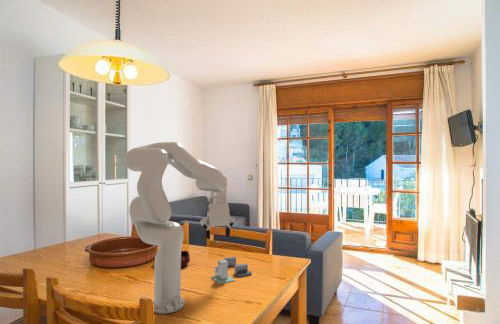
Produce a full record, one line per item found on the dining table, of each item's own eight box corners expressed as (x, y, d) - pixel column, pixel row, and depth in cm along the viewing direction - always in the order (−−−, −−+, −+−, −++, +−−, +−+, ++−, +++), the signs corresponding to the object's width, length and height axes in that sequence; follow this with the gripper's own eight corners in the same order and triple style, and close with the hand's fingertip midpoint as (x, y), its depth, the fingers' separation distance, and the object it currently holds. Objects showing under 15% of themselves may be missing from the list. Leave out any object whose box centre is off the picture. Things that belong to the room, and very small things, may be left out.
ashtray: (199, 262, 164) (199, 253, 164) (178, 271, 150) (178, 261, 150) (175, 256, 173) (175, 248, 173) (153, 265, 159) (153, 255, 159)
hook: (227, 279, 139) (227, 261, 139) (220, 280, 137) (220, 262, 137) (221, 273, 146) (221, 257, 146) (214, 275, 144) (214, 258, 144)
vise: (251, 274, 146) (251, 266, 146) (238, 277, 142) (238, 268, 142) (232, 262, 164) (232, 254, 164) (220, 264, 161) (220, 256, 161)
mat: (234, 280, 138) (234, 280, 138) (218, 284, 134) (218, 283, 134) (226, 274, 146) (226, 273, 146) (211, 277, 142) (211, 276, 142)
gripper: (203, 202, 135) (202, 241, 135) (238, 201, 143) (237, 237, 143) (198, 200, 142) (197, 237, 141) (231, 199, 150) (231, 234, 149)
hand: (217, 237), depth 142 cm, fingers open, 9 cm apart
